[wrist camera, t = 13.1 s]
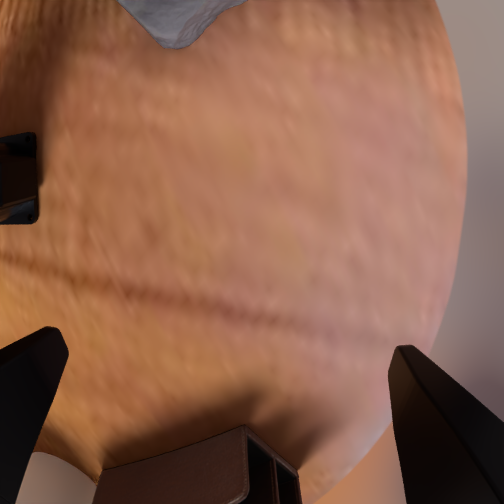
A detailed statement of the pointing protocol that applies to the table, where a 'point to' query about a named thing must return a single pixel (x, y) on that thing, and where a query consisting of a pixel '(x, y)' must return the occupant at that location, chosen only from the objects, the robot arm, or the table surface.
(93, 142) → the table surface
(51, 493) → the mug
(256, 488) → the letter holder
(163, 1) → the stone block
